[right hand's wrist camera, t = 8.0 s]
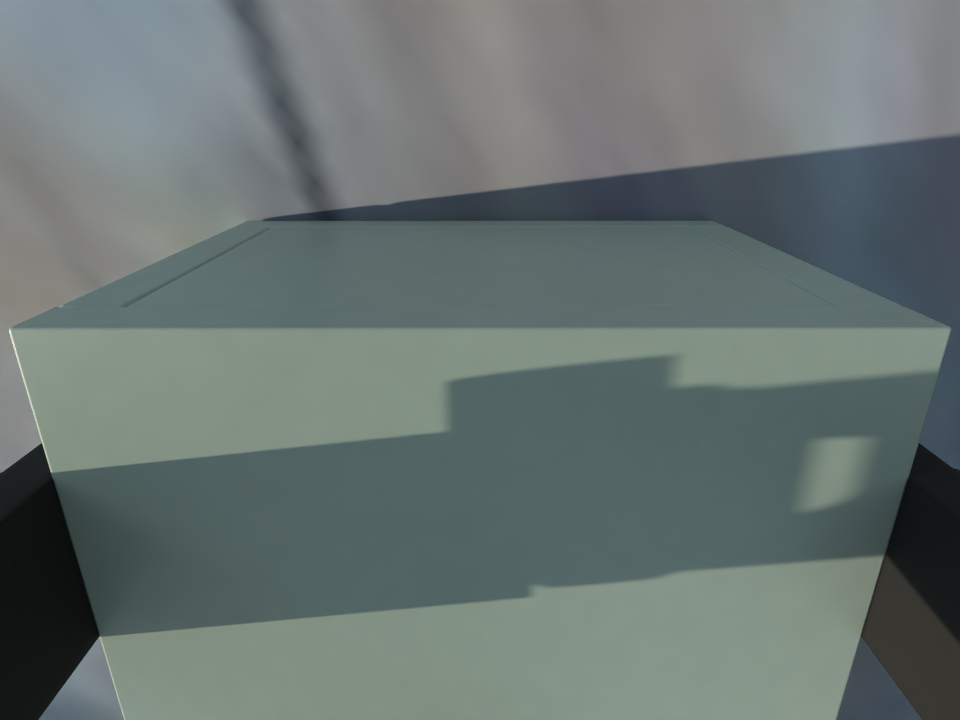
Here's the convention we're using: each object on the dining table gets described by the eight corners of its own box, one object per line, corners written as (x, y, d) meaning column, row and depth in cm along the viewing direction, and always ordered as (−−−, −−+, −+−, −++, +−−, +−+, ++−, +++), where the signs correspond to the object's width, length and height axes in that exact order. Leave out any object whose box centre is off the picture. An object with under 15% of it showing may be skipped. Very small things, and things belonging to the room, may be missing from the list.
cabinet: (645, 725, 21) (737, 1061, 14) (315, 725, 21) (224, 1061, 14) (715, 220, 15) (956, 326, 7) (245, 220, 15) (5, 328, 7)
